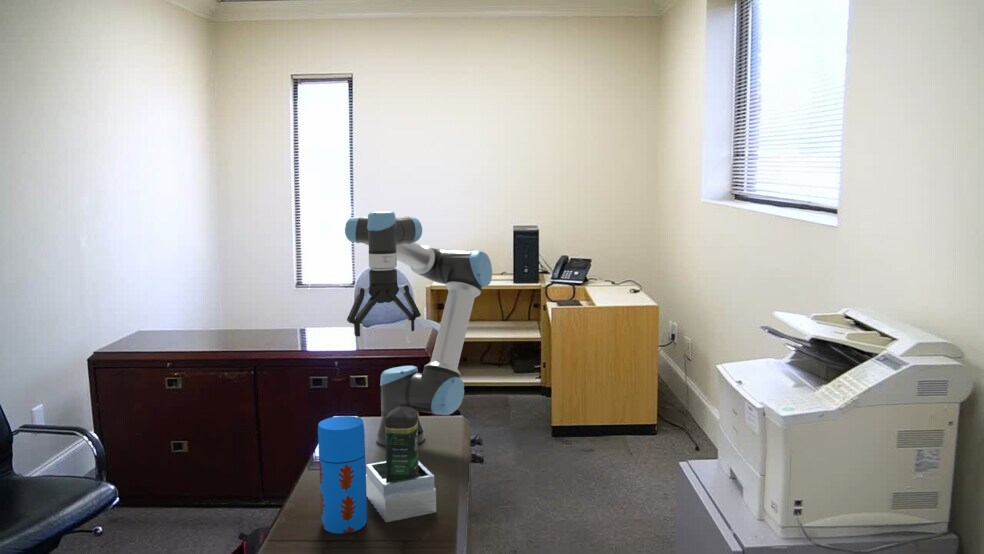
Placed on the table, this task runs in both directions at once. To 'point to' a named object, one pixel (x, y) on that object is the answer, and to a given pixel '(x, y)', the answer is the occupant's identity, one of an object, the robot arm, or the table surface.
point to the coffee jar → (401, 444)
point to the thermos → (342, 474)
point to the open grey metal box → (400, 493)
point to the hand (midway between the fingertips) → (385, 345)
